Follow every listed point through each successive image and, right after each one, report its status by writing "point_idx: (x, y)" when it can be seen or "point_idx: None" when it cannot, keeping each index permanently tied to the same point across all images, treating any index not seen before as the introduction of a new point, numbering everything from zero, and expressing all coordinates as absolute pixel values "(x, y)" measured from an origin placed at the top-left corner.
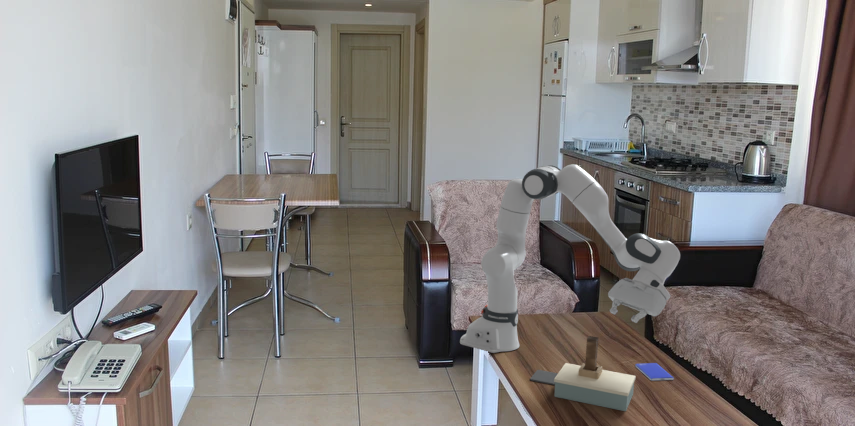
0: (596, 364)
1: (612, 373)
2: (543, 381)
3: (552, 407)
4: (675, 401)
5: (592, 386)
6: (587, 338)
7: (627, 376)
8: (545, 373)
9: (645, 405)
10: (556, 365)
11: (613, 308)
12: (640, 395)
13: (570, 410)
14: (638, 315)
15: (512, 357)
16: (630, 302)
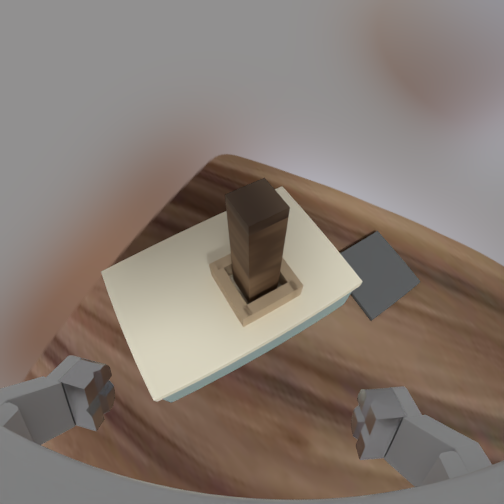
0: (248, 290)
1: (214, 349)
2: (354, 246)
3: (239, 187)
4: (78, 447)
5: (189, 228)
6: (265, 180)
7: (167, 372)
8: (393, 281)
9: (109, 364)
10: (433, 351)
11: (388, 407)
12: (152, 409)
13: (207, 204)
14: (34, 383)
15: (492, 283)
16: (154, 490)
